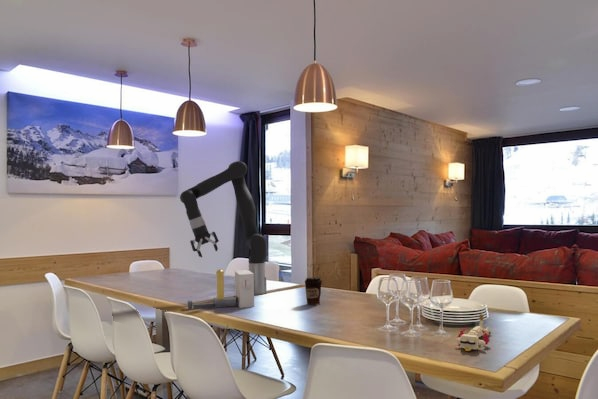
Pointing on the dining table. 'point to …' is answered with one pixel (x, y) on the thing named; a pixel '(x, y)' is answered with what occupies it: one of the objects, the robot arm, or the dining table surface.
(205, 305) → the rail
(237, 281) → the cabinet
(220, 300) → the gold sphere topped award
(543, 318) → the dining table surface
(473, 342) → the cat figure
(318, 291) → the coffee cup
